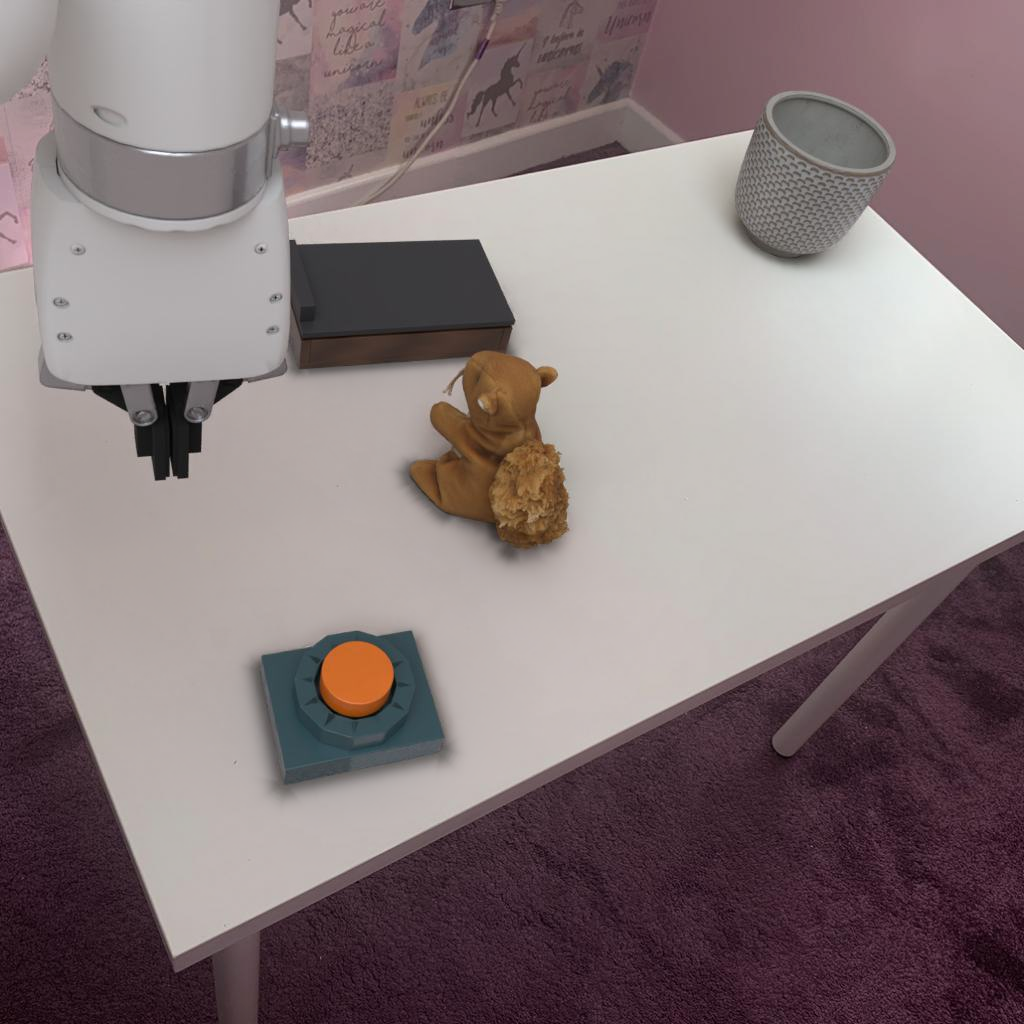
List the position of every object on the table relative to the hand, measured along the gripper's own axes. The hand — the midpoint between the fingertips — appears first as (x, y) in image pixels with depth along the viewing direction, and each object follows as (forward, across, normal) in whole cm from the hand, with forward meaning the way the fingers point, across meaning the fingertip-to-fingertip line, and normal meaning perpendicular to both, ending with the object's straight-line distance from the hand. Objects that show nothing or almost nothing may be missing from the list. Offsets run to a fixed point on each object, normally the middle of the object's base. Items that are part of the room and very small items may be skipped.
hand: (168, 457), depth 53 cm
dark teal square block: (+20, -10, +6) cm, 23 cm away
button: (+16, -10, +6) cm, 20 cm away
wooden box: (+20, -22, -30) cm, 42 cm away
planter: (+19, -67, -40) cm, 80 cm away
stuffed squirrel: (+20, -25, -9) cm, 33 cm away
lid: (+16, -22, -30) cm, 41 cm away
